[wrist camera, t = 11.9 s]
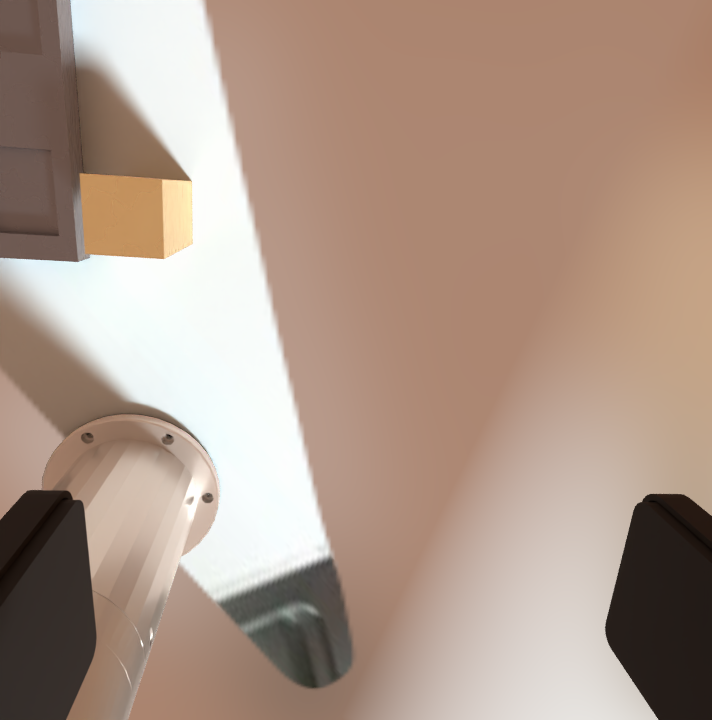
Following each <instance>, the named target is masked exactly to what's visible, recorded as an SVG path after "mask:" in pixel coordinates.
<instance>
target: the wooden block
mask: <svg viewBox="0 0 712 720" xmlns="http://www.w3.org/2000/svg"><path fill="white" fill-rule="evenodd" d="M79 174H80V188H81V202H82V217H83V231H84V246H85V254H94V255H110V256H125V257H141V258H157V259H165V258H167V257H169V256H171V255H173V254H174V253H176V252H178V251H180V250H182V249H184V248H186V247H188V246H190V245H191V244H193V239H192V181H183V180H170V179H158V178H145V177H132V176H117V175H101V174H84V173H79Z"/></svg>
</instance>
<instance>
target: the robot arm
mask: <svg viewBox="0 0 712 720" xmlns="http://www.w3.org/2000/svg"><path fill="white" fill-rule="evenodd" d="M89 433H91V434H92V435H90V434H89ZM167 434H169V435H171V436H173V437H169V436H168V435H167ZM208 493H210V494H208ZM219 499H220V487H219V479H218V476H217V472H216V469H215V466H214V464H213V463H212V461H211V459H210V457H209V455H208V454H207V452H206V451H205V450H204V449H203V448H202V446H201V445H200V444H199V443H198V442H197V441H196V440H195V439H194V438H192V437H191V436H190V435H189V434H188V433H187V432H185V431H183V430H182V429H180V428H178V427H176V426H175V425H173V424H171V423H168V422H166V421H163V420H160V419H158V418H154V417H149V416H143V415H133V414H120V415H113V416H106V417H103V418H100V419H97V420H94V421H91V422H88V423H87V424H85V425H83V426H81V427H80V428H78V429H76V430H75V431H74V432H72V433H71V434H70V435H69V436H68V437H67V438H66V439H64V440H63V442H62V443H61V444H60V445H59V446H58V447H57V449H56V450H55V451H54V452H53V454H52V456H51V457H50V459H49V461H48V463H47V465H46V468H45V471H44V475H43V479H42V490H30V491H27V492H26V493H24V494H23V495H22V496H21V498H20V499H19V500H18V501H17V502H16V503H15V504H14V505H13V506H12V508H11V509H10V510H9V511H8V512H7V513H6V514H5V515H4V516H3V518H2V519H1V520H0V720H128V718H129V715H130V712H131V708H132V705H133V702H134V699H135V696H136V693H137V689H138V687H139V684H140V680H141V678H142V675H143V672H144V669H145V665H146V663H147V660H148V656H149V654H150V650H151V647H152V644H153V641H154V638H155V635H156V632H157V629H158V626H159V623H160V619H161V616H162V614H163V610H164V607H165V604H166V601H167V598H168V595H169V592H170V589H171V586H172V583H173V580H174V577H175V573H176V570H177V567H178V564H179V561H180V558H181V556H183V555H185V554H187V553H188V552H190V551H191V550H192V549H193V548H195V547H196V546H197V545H198V544H199V543H200V542H201V541H202V540H203V538H204V537H205V536H206V535H207V534H208V532H209V530H210V528H211V526H212V524H213V522H214V520H215V517H216V513H217V510H218V505H219ZM605 631H606V637H607V640H608V643H609V646H610V647H611V649H612V651H613V652H614V654H615V655H616V657H617V658H618V660H619V661H620V663H621V664H622V665H623V667H624V669H625V670H626V672H627V673H628V675H629V676H630V678H631V679H632V681H633V682H634V684H635V685H636V687H637V688H638V690H639V691H640V693H641V694H642V696H643V697H644V699H645V700H646V702H647V703H648V705H649V706H650V708H651V709H652V711H653V712H654V714H655V715H656V717H657V718H658V720H712V516H711V515H710V514H708V513H707V512H706V511H705V510H703V509H702V508H701V507H700V506H699V505H697V504H696V503H695V502H694V501H692V500H691V499H690V498H688V497H687V496H685V495H682V494H649V495H647V496H646V497H645V498H644V499H643V501H642V502H640V503H638V504H637V505H636V506H635V509H634V511H633V515H632V519H631V523H630V527H629V532H628V536H627V539H626V544H625V548H624V552H623V556H622V560H621V564H620V568H619V572H618V576H617V580H616V584H615V588H614V592H613V596H612V600H611V604H610V609H609V612H608V616H607V620H606V626H605Z"/></svg>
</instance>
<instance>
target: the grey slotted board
mask: <svg viewBox="0 0 712 720" xmlns="http://www.w3.org/2000/svg"><path fill="white" fill-rule="evenodd" d="M79 173H83V162H82V149H81V136H80V123H79V110H78V97H77V84H76V71H75V58H74V44H73V31H72V18H71V5H70V0H0V258H17V259H35V260H54V261H73V262H79V261H82V260H85V259H88V258H90V254H85V246H84V231H83V217H82V202H81V188H80V174H79Z"/></svg>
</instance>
